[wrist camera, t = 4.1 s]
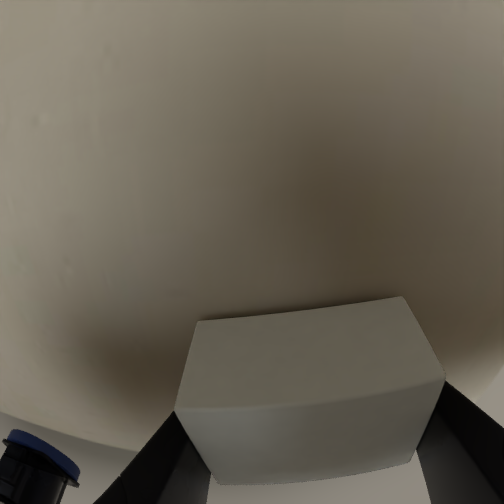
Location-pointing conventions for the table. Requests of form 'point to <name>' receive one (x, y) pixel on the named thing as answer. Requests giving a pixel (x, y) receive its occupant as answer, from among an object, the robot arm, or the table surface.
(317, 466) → the gray rectangular box
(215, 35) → the table surface
